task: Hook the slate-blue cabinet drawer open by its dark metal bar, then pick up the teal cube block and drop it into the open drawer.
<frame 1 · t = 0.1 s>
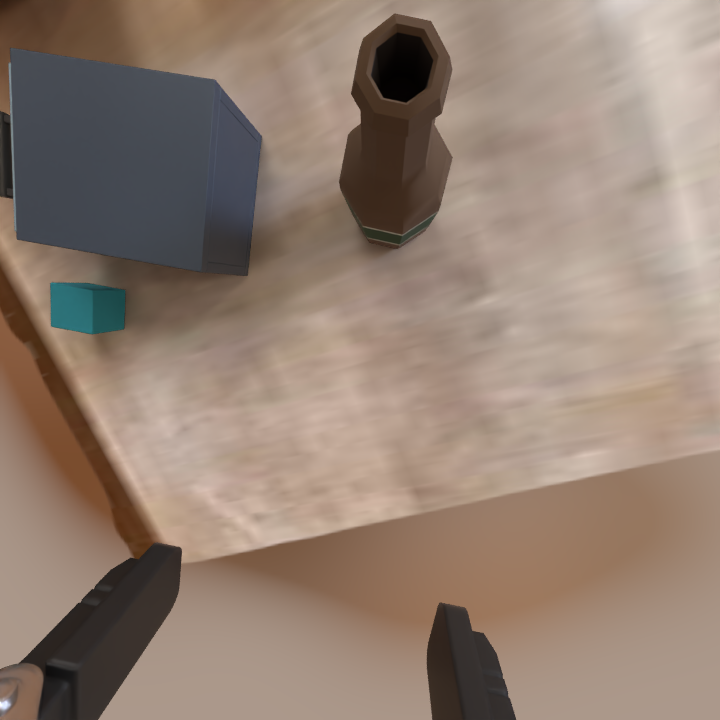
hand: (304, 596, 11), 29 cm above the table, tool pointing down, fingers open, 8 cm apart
drawer: (106, 175, 32), point 5 cm above the table, slide at 0.0 cm, touching cabinet
cabinet: (181, 196, 37), on the table
beer bottle: (392, 211, 36), on the table
teal cube block: (106, 306, 40), on the table
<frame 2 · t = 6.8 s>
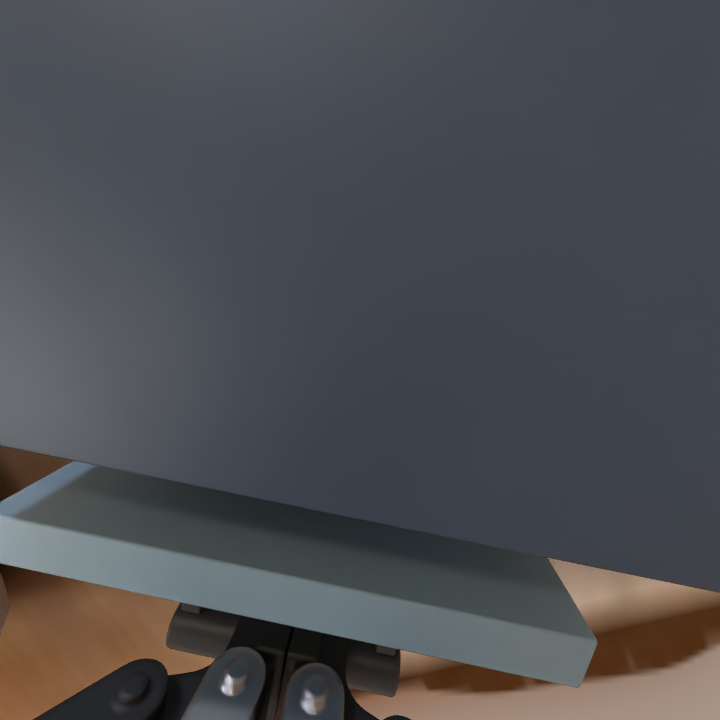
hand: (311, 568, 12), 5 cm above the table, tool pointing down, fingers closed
drawer: (336, 358, 10), point 5 cm above the table, slide at 2.3 cm, touching gripper
cabinet: (381, 169, 13), on the table
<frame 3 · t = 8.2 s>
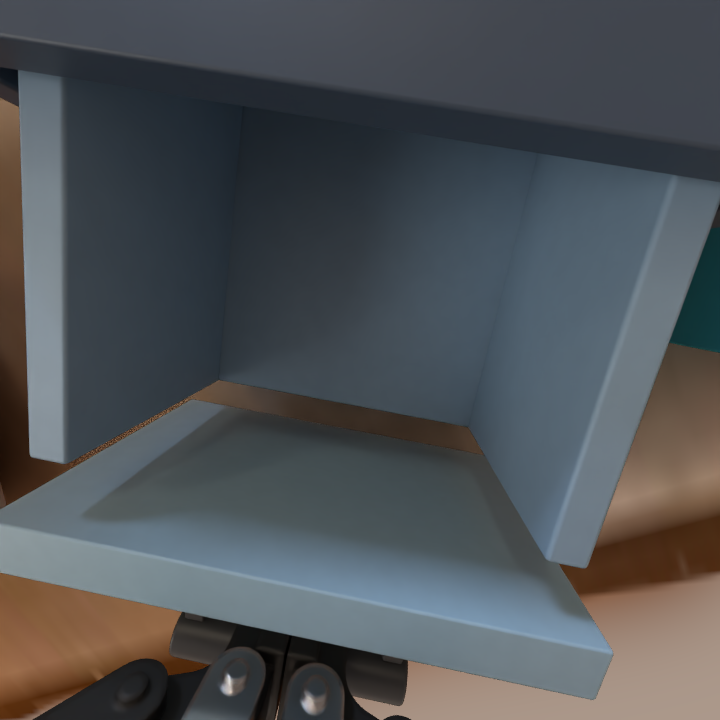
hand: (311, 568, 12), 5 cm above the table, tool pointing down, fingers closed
drawer: (342, 361, 10), point 5 cm above the table, slide at 8.0 cm, touching gripper
teal cube block: (713, 288, 13), on the table
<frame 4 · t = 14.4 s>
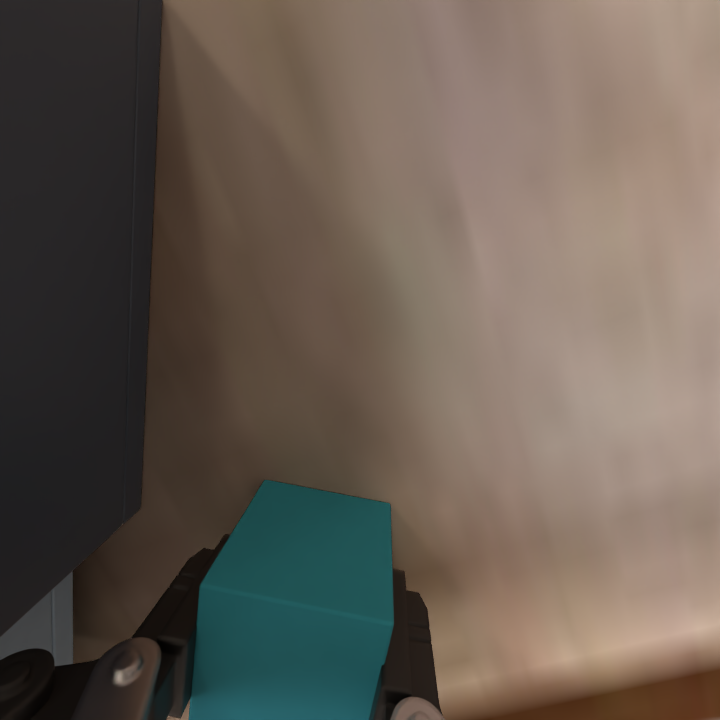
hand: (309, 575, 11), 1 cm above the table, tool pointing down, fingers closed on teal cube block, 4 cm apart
teal cube block: (318, 545, 13), on the table, touching gripper
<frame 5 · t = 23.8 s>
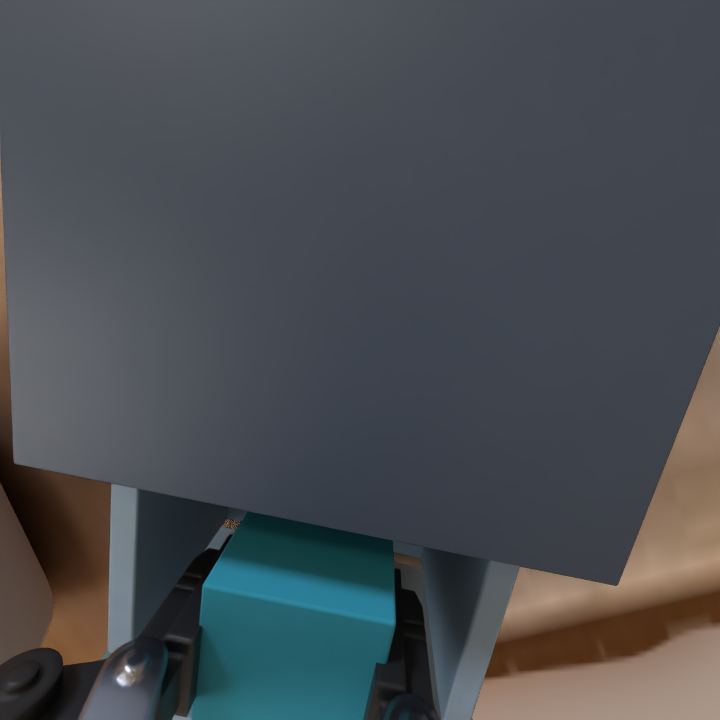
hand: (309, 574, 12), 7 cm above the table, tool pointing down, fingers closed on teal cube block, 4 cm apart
drawer: (318, 539, 14), point 5 cm above the table, slide at 8.1 cm
cabinet: (379, 227, 16), on the table
teal cube block: (319, 545, 13), point 6 cm above the table, touching gripper
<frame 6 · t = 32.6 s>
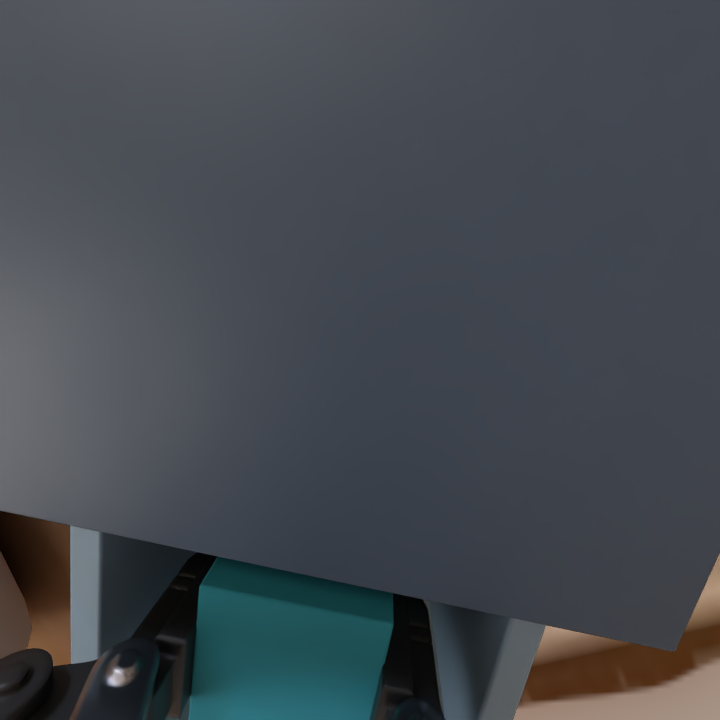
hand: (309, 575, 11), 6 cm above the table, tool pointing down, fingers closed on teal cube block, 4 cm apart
drawer: (314, 569, 12), point 5 cm above the table, slide at 8.1 cm
cabinet: (381, 222, 14), on the table
teal cube block: (318, 545, 13), point 4 cm above the table, touching gripper
when the fingers open (8 cm above the table, at t = 33.3 s): teal cube block drops 4 cm, resting on drawer.
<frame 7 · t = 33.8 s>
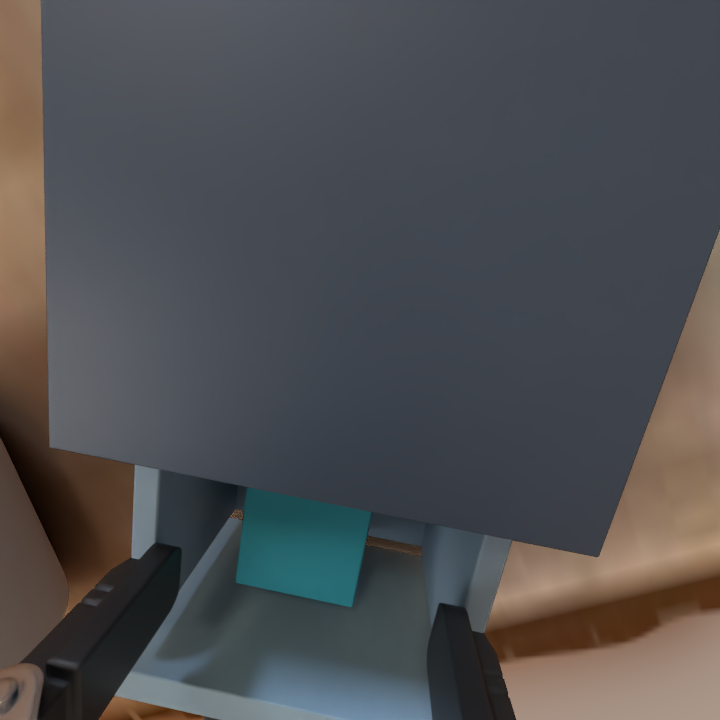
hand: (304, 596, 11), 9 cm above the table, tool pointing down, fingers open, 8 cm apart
drawer: (323, 526, 14), point 5 cm above the table, slide at 8.1 cm, touching teal cube block
cabinet: (380, 229, 17), on the table
teal cube block: (323, 478, 17), point 2 cm above the table, touching drawer
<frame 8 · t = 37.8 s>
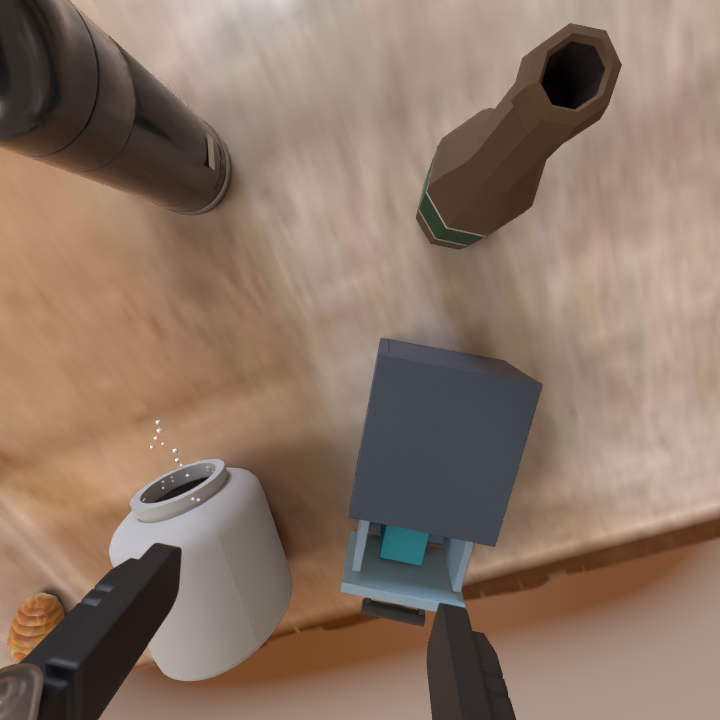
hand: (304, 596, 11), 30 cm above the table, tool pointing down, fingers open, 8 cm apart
drawer: (408, 536, 38), point 5 cm above the table, slide at 8.1 cm, touching teal cube block
pastry: (47, 616, 51), on the table
grey rounded piece: (215, 489, 45), on the table
cabinet: (427, 415, 41), on the table
beer bottle: (452, 212, 36), on the table
teal cube block: (402, 516, 41), point 2 cm above the table, touching drawer
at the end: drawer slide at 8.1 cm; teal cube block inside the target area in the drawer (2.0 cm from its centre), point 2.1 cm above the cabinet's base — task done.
